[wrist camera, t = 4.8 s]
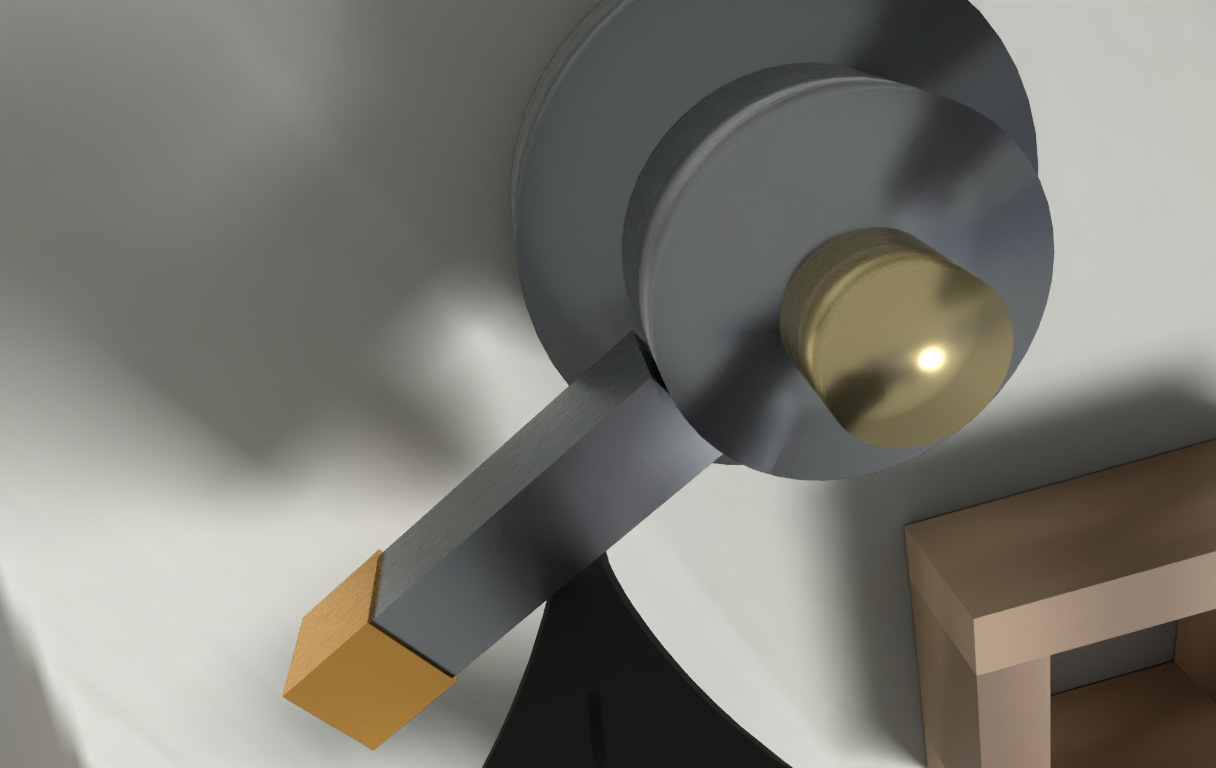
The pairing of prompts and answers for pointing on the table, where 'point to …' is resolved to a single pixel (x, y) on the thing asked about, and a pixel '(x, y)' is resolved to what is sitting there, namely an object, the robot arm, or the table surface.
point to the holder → (1070, 619)
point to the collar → (684, 366)
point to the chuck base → (665, 84)
